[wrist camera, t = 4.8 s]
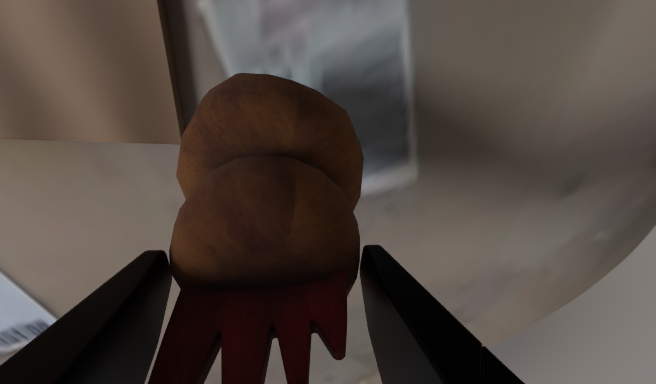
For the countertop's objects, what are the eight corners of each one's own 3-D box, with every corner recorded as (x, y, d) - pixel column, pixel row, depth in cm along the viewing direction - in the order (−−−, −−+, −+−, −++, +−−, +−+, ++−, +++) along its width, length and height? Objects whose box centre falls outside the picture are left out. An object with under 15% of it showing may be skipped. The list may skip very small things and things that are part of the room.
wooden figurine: (202, 151, 17) (-26, 611, 5) (221, 39, 14) (-239, 450, 2) (320, 181, 19) (386, 565, 6) (358, 88, 16) (606, 452, 4)
